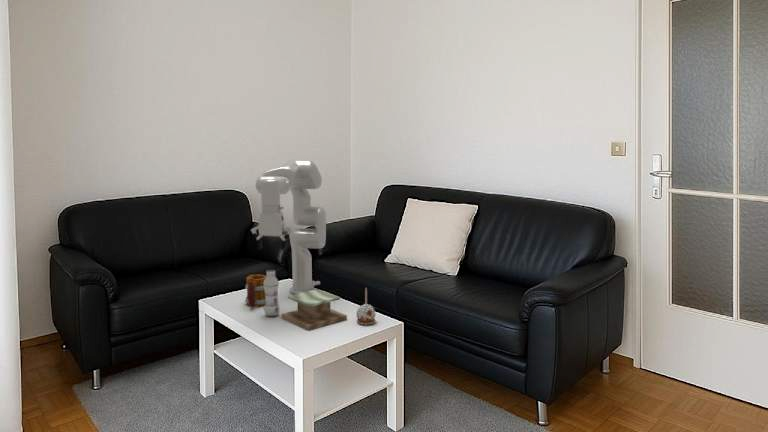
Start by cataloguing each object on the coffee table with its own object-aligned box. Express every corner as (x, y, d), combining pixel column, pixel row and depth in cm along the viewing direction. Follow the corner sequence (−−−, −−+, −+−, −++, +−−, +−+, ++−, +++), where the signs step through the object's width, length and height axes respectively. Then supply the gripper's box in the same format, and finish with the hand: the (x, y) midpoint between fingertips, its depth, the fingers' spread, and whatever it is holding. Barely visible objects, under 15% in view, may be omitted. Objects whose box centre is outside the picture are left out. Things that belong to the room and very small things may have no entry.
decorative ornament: (368, 327, 249) (368, 292, 246) (353, 323, 253) (353, 289, 250) (378, 321, 255) (378, 287, 253) (363, 318, 259) (363, 284, 257)
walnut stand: (319, 308, 272) (319, 287, 270) (346, 319, 257) (346, 297, 256) (281, 318, 259) (280, 295, 257) (308, 330, 244) (307, 306, 242)
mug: (272, 300, 284) (271, 269, 281) (262, 311, 268) (261, 279, 265) (250, 299, 285) (249, 269, 282) (238, 310, 269) (237, 278, 266)
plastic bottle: (276, 318, 259) (275, 273, 255) (261, 317, 260) (260, 272, 257) (282, 313, 265) (281, 269, 262) (267, 312, 266) (266, 268, 263)
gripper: (293, 207, 250) (294, 248, 253) (253, 206, 252) (255, 246, 255) (288, 210, 242) (289, 252, 245) (247, 209, 245) (248, 250, 247)
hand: (272, 249), depth 250 cm, fingers open, 9 cm apart
